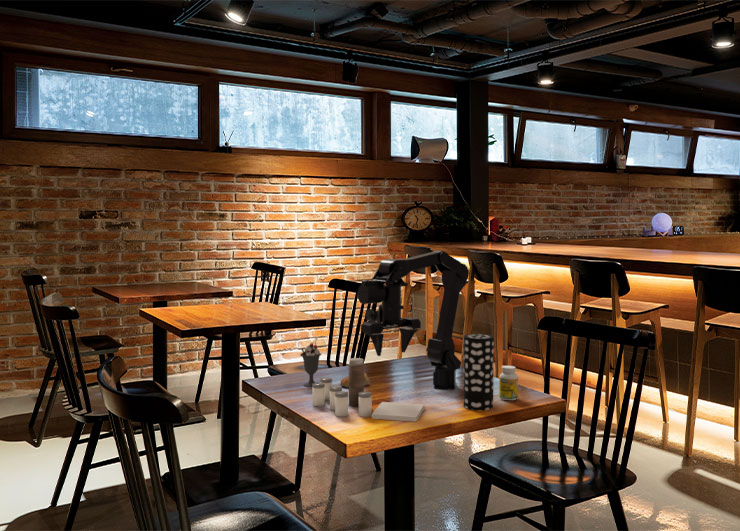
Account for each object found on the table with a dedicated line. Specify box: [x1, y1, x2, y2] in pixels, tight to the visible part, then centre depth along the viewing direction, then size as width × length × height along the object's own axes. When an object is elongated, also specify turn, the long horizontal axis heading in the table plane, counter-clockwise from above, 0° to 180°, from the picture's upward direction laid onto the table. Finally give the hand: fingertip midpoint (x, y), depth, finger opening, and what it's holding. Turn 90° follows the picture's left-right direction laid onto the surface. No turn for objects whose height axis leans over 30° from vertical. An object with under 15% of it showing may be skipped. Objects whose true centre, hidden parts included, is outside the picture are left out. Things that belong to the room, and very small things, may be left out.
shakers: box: [311, 377, 373, 418], centre depth 182 cm, size 8×24×6 cm, turn 35°
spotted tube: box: [462, 333, 495, 411], centre depth 183 cm, size 8×8×20 cm
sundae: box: [300, 337, 322, 388], centre depth 208 cm, size 7×7×15 cm
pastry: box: [339, 372, 370, 388], centre depth 208 cm, size 9×7×4 cm
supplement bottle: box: [498, 365, 519, 401], centre depth 191 cm, size 5×5×10 cm
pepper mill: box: [348, 357, 365, 408], centre depth 185 cm, size 4×4×13 cm
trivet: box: [371, 401, 425, 422], centre depth 177 cm, size 12×12×1 cm
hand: (391, 354), depth 193 cm, fingers open, 9 cm apart
